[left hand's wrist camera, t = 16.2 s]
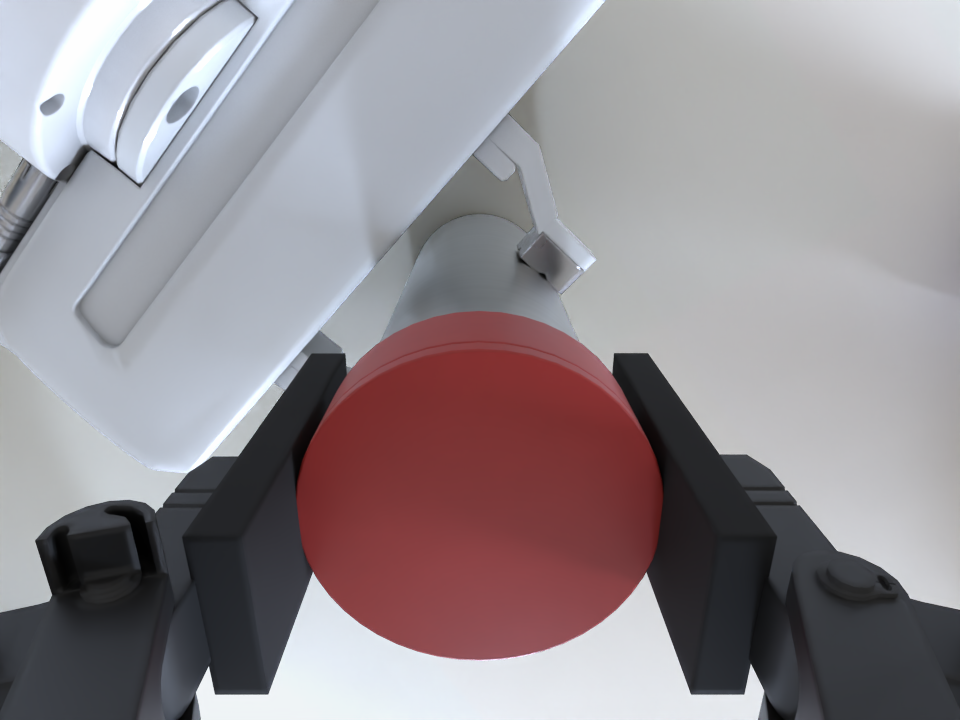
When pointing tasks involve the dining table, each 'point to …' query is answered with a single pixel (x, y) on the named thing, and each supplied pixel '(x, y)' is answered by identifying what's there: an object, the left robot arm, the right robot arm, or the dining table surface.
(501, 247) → the grey cylinder
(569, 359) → the lid
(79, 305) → the right robot arm
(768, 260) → the dining table surface
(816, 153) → the dining table surface
